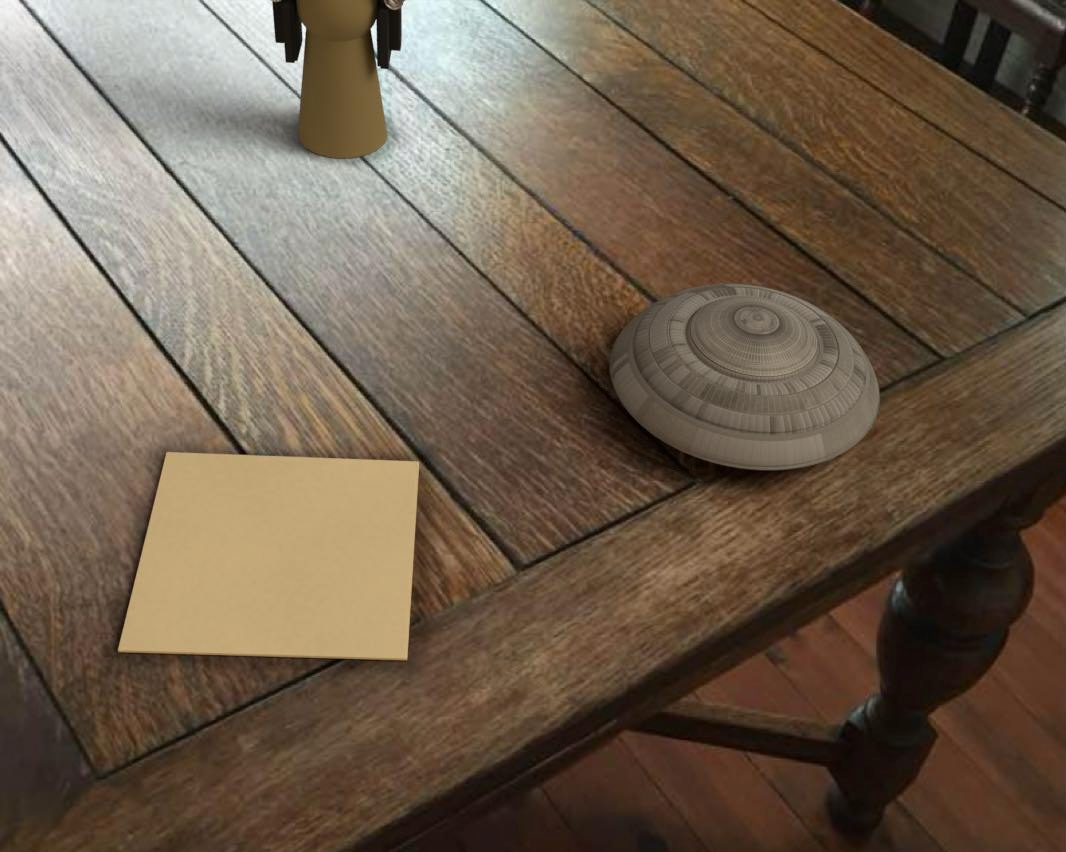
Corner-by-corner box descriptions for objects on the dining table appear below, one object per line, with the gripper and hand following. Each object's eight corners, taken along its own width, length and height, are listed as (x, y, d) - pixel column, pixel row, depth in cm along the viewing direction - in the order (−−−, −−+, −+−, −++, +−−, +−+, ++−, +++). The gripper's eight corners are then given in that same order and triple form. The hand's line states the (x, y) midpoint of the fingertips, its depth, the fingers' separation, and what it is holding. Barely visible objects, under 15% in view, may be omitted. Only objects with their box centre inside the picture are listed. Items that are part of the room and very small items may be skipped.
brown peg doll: (405, 131, 93) (404, -27, 85) (349, 168, 90) (343, 7, 82) (336, 102, 95) (329, -56, 87) (279, 137, 92) (266, -24, 84)
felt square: (166, 454, 70) (166, 451, 70) (419, 463, 71) (419, 461, 71) (118, 652, 61) (117, 650, 61) (407, 660, 62) (407, 658, 62)
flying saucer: (602, 305, 81) (612, 228, 77) (850, 320, 82) (873, 243, 78) (611, 482, 71) (623, 402, 67) (894, 496, 72) (923, 419, 68)
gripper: (484, -264, 78) (473, 37, 91) (183, -287, 77) (216, 20, 90) (479, -219, 73) (469, 93, 86) (157, -243, 72) (196, 76, 85)
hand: (339, 53), depth 88 cm, fingers closed on brown peg doll, 5 cm apart
